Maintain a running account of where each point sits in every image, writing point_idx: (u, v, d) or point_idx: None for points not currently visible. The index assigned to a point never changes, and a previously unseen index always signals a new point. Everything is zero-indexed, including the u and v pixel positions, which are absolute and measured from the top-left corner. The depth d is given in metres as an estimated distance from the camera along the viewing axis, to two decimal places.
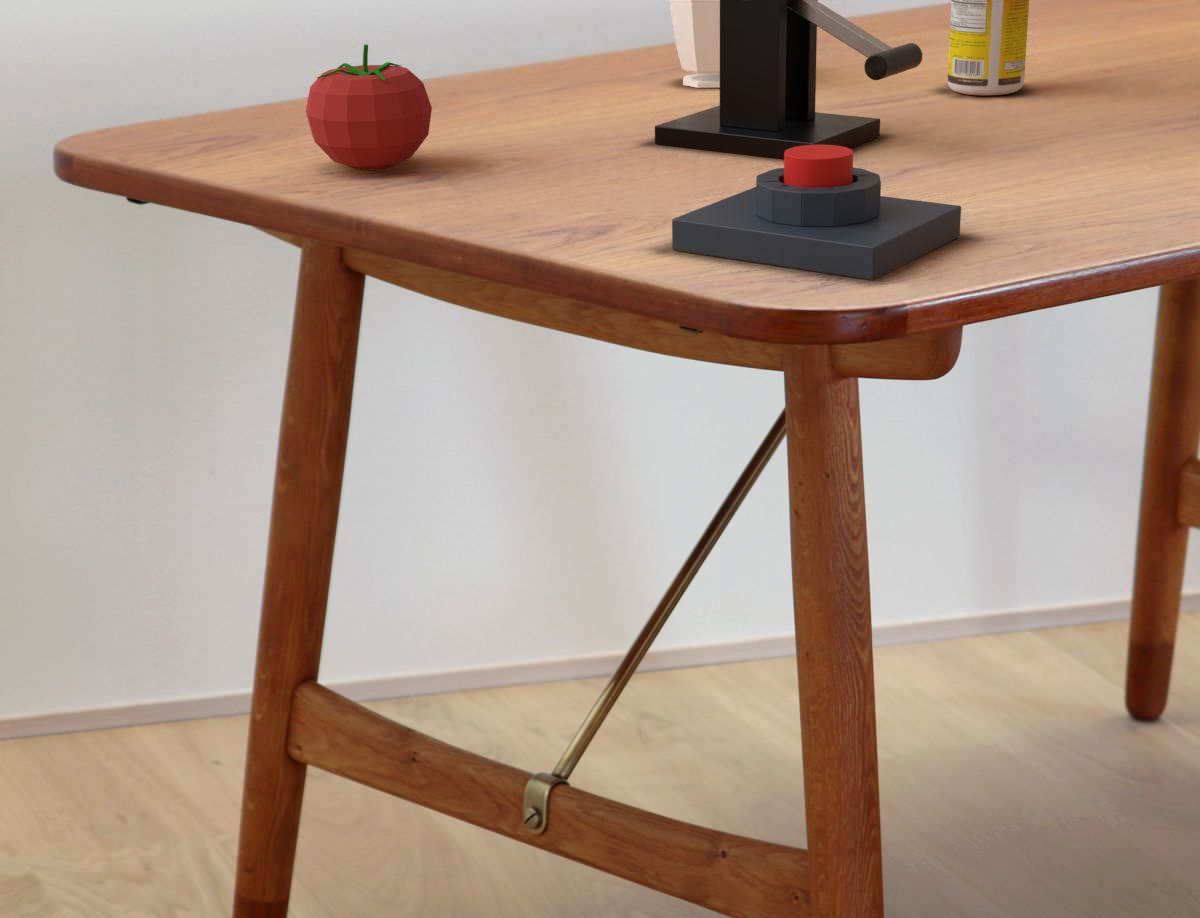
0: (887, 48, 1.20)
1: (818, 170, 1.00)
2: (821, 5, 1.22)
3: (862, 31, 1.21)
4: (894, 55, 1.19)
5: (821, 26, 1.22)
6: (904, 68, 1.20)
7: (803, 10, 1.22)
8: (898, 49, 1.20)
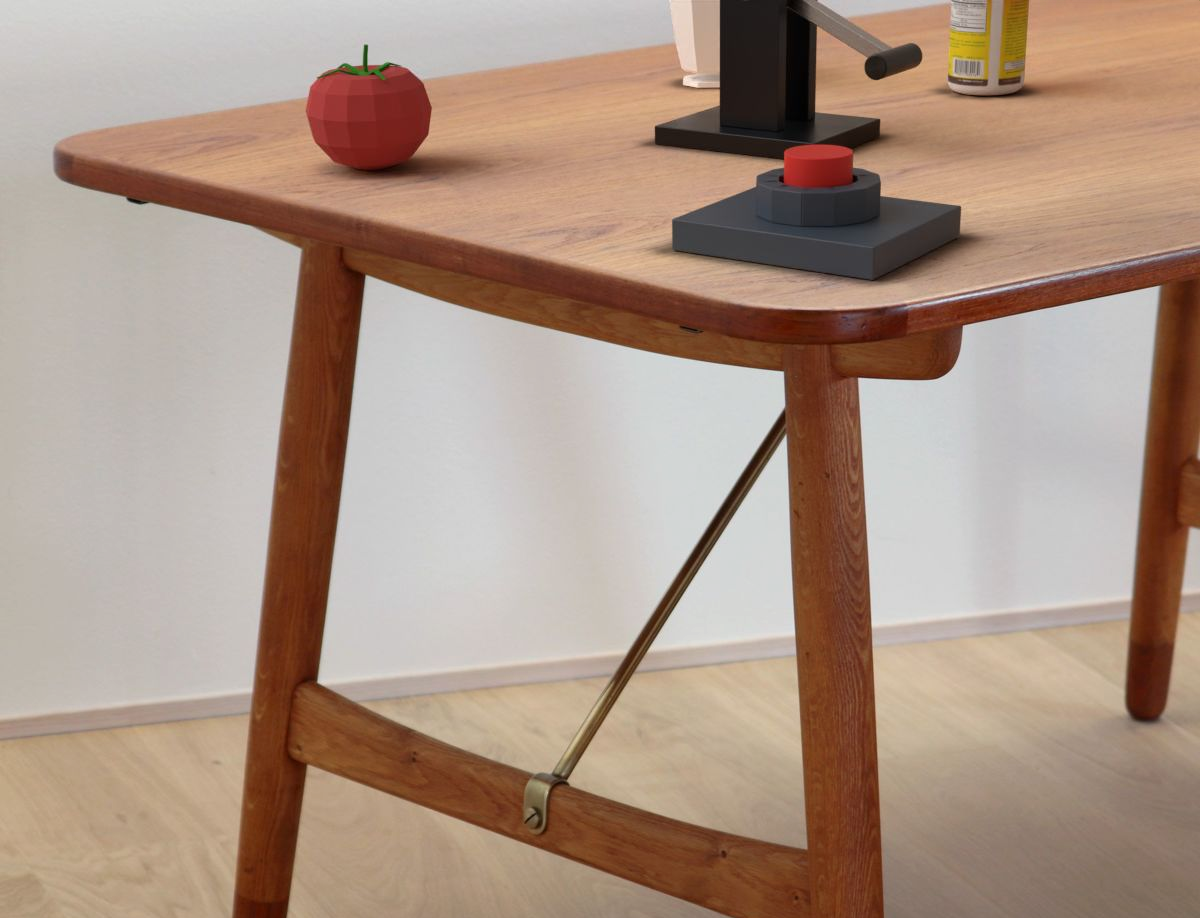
0: (887, 48, 1.20)
1: (818, 170, 1.00)
2: (821, 5, 1.22)
3: (862, 31, 1.21)
4: (894, 55, 1.19)
5: (821, 26, 1.22)
6: (904, 68, 1.20)
7: (803, 10, 1.22)
8: (898, 49, 1.20)
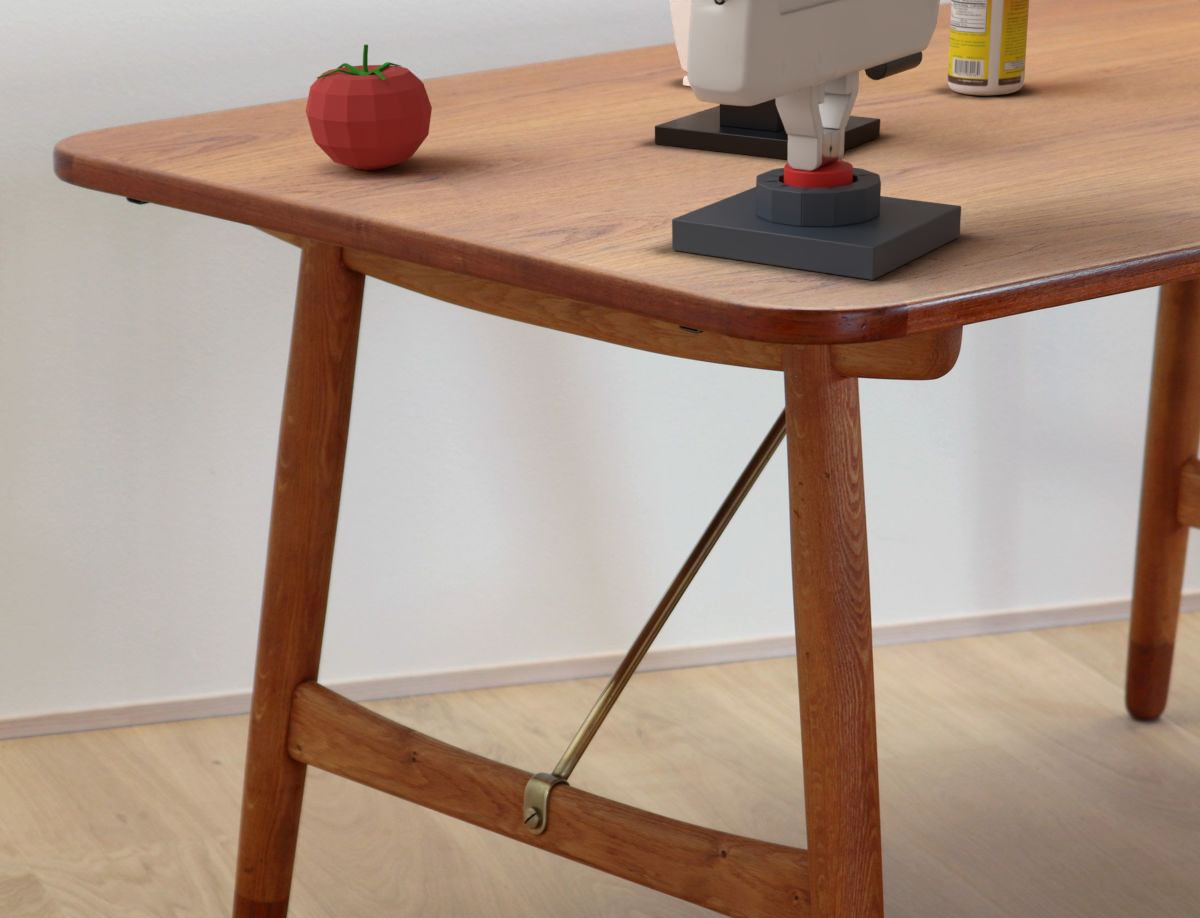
0: None
1: (817, 184, 1.00)
2: None
3: None
4: None
5: None
6: (904, 68, 1.20)
7: None
8: None
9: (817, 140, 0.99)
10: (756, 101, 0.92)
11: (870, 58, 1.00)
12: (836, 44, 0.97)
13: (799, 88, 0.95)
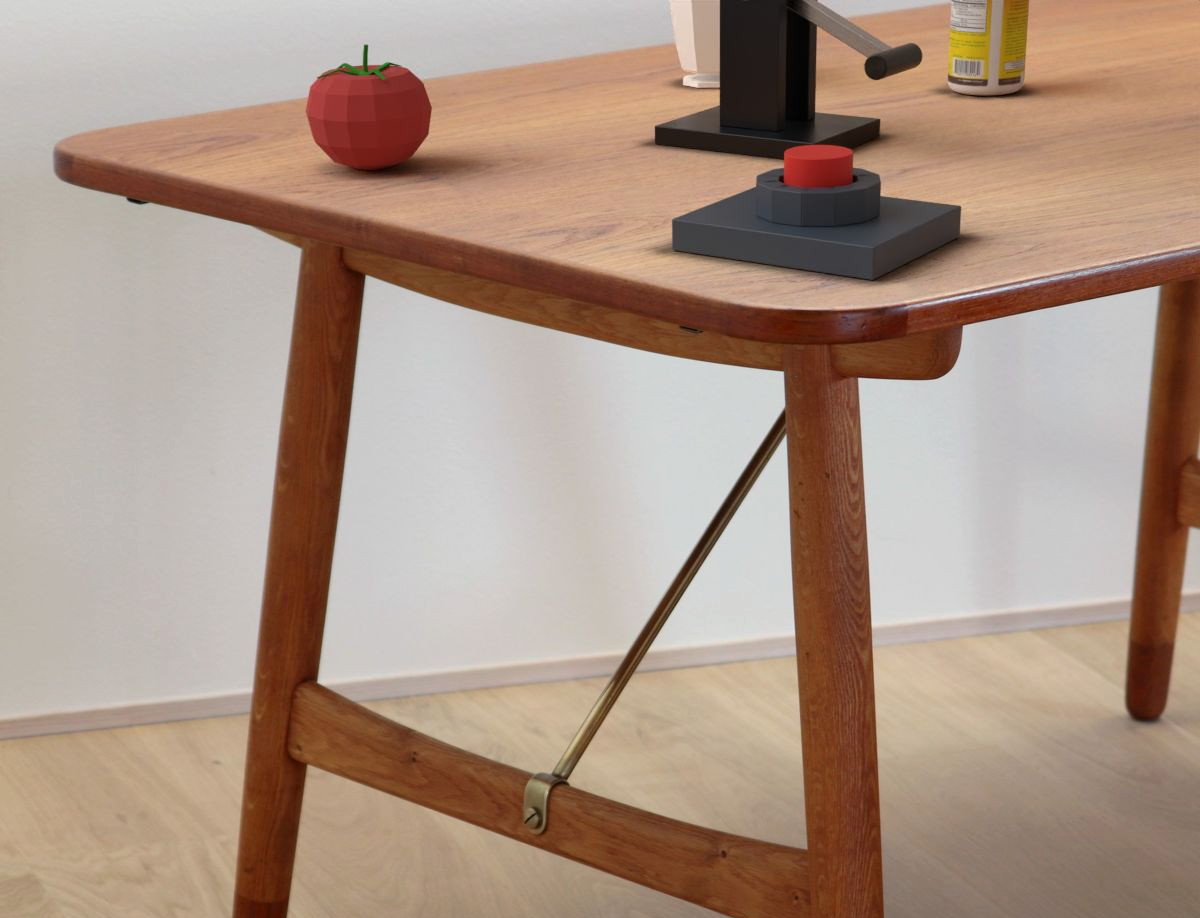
0: (887, 48, 1.20)
1: (818, 170, 1.00)
2: (821, 5, 1.22)
3: (862, 31, 1.21)
4: (894, 55, 1.19)
5: (821, 26, 1.22)
6: (904, 68, 1.20)
7: (803, 10, 1.22)
8: (898, 49, 1.20)
9: None
10: None
11: None
12: None
13: None
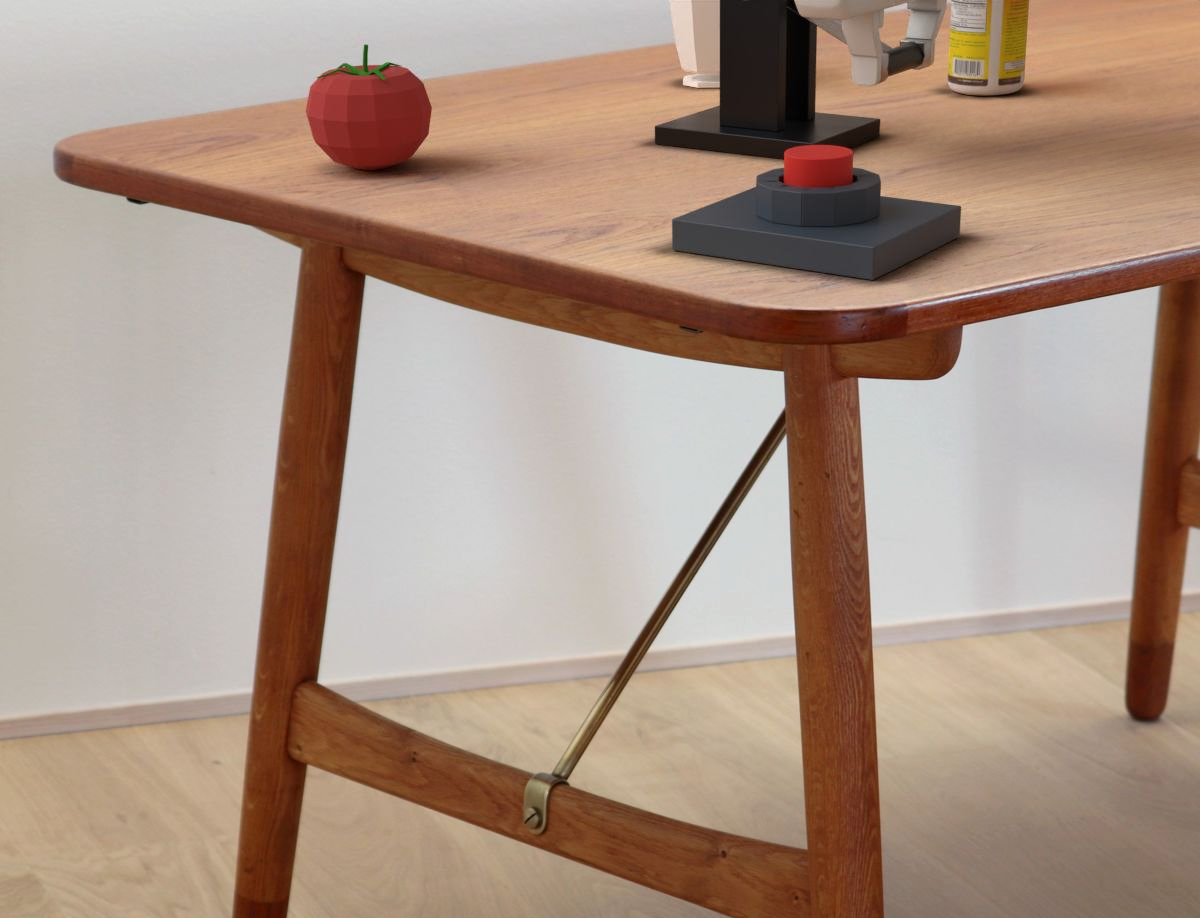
0: (887, 48, 1.20)
1: (818, 170, 1.00)
2: None
3: None
4: (894, 55, 1.19)
5: (821, 26, 1.22)
6: (904, 68, 1.20)
7: None
8: (898, 49, 1.20)
9: (877, 59, 1.17)
10: (851, 15, 1.11)
11: None
12: None
13: (884, 7, 1.14)
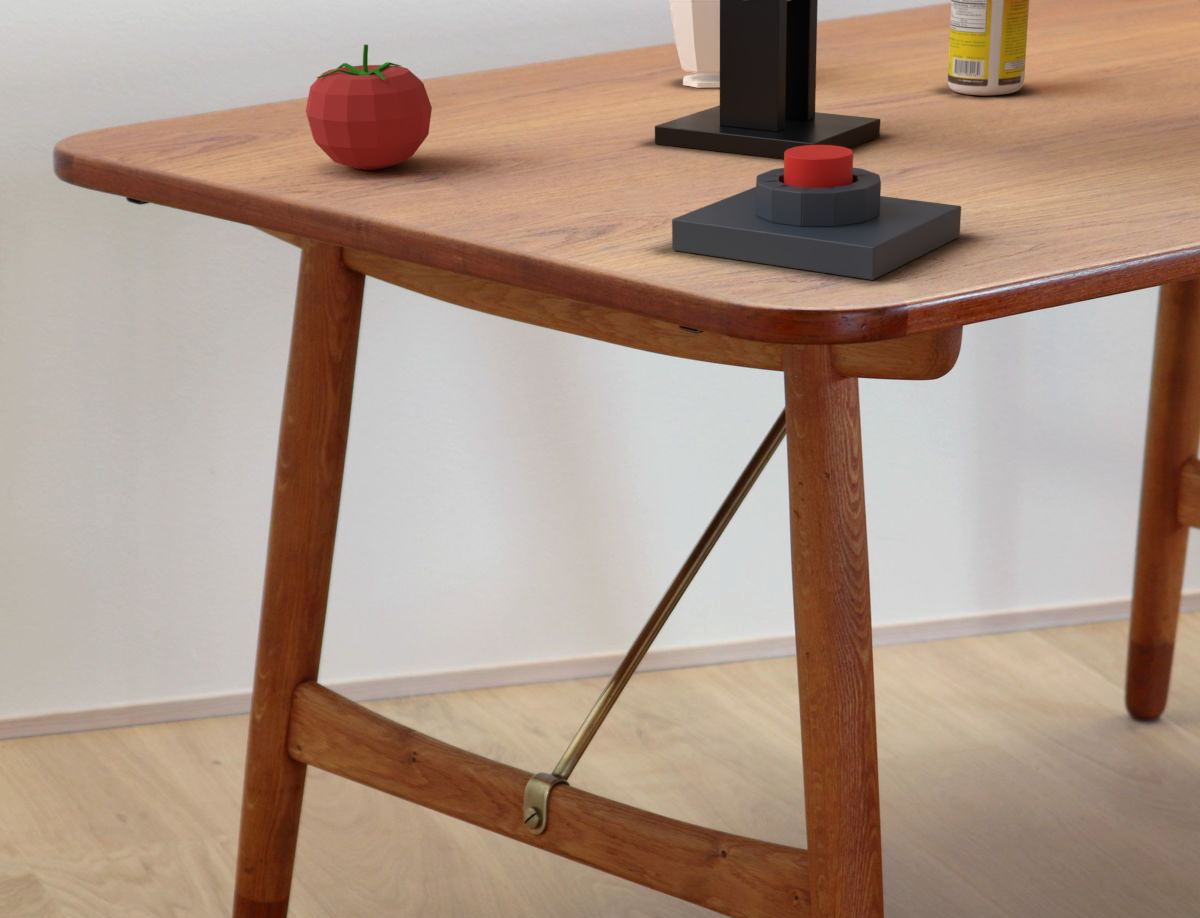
0: None
1: (818, 170, 1.00)
2: None
3: None
4: None
5: None
6: None
7: None
8: None
9: None
10: None
11: None
12: None
13: None
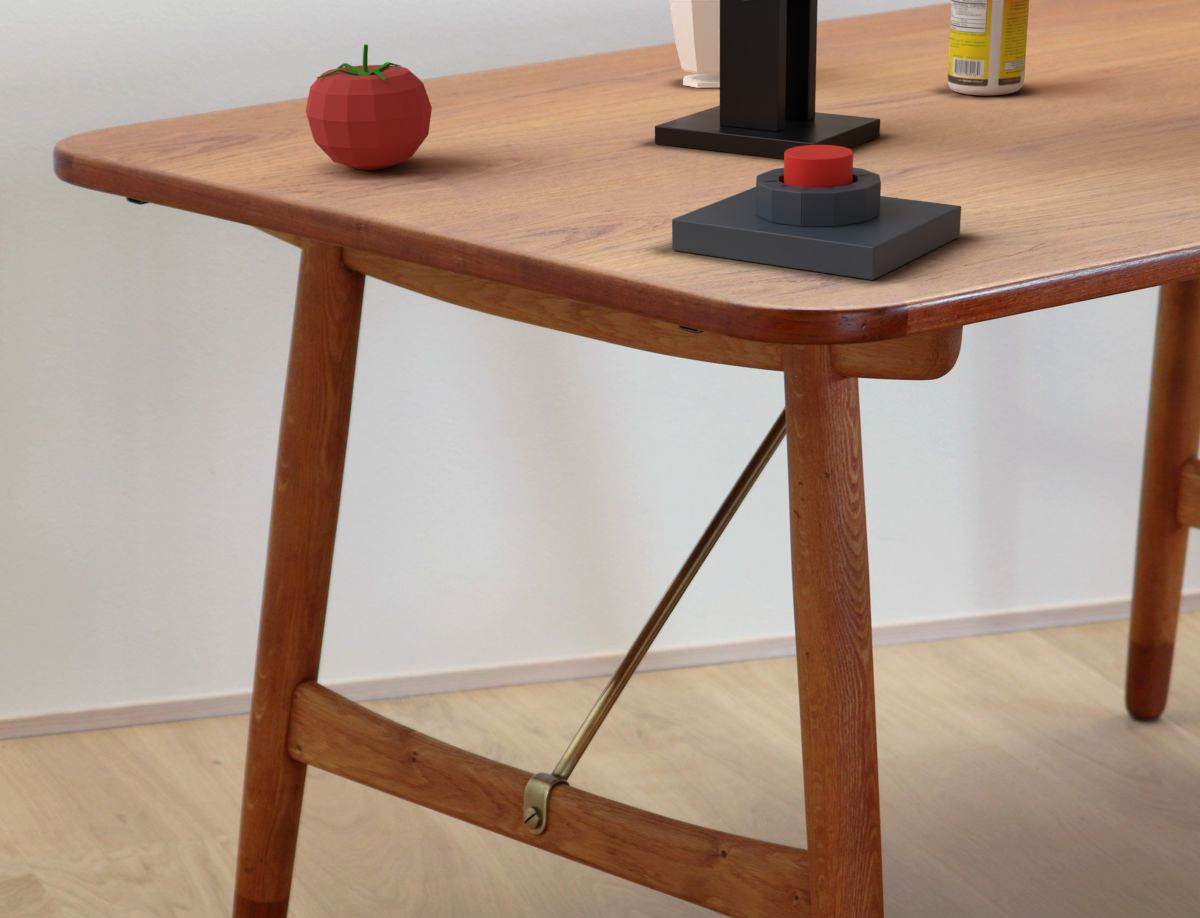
0: None
1: (818, 170, 1.00)
2: None
3: None
4: None
5: None
6: None
7: None
8: None
9: None
10: None
11: None
12: None
13: None
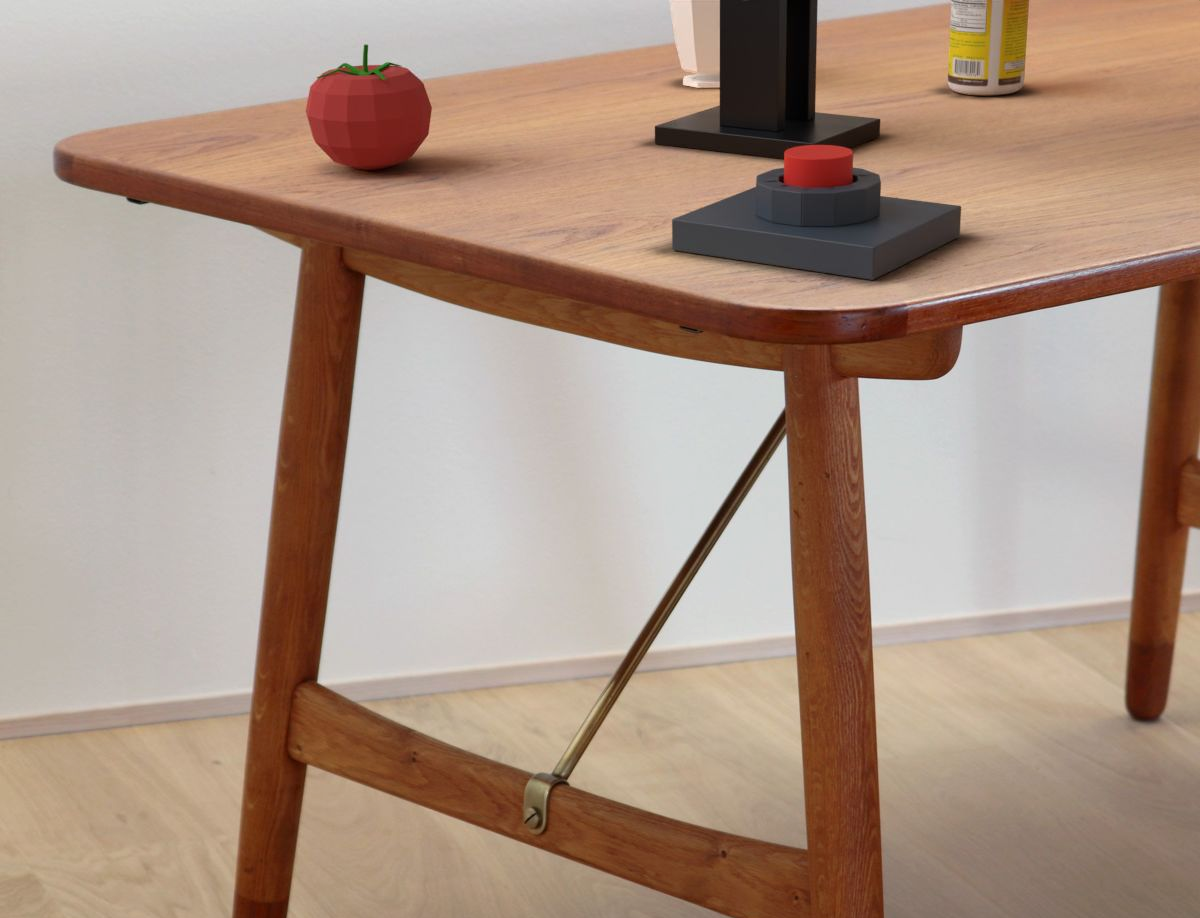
0: None
1: (818, 170, 1.00)
2: None
3: None
4: None
5: None
6: None
7: None
8: None
9: None
10: None
11: None
12: None
13: None
